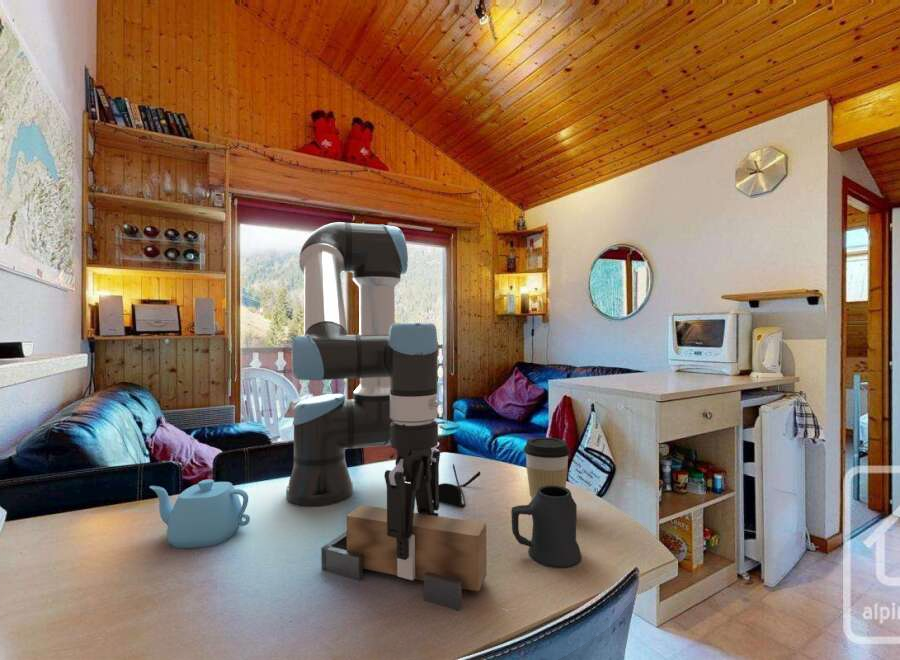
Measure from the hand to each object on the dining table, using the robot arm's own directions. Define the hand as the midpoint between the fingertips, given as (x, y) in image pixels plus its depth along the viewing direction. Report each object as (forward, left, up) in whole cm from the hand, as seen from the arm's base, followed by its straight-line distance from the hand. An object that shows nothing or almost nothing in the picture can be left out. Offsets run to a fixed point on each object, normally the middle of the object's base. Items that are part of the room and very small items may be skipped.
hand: (415, 567), depth 70 cm
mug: (+17, +16, -2) cm, 23 cm away
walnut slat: (0, 0, 0) cm, 0 cm away
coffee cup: (+13, +34, -2) cm, 36 cm away
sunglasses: (-11, +36, -2) cm, 38 cm away
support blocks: (+7, 0, -2) cm, 7 cm away
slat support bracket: (-11, 0, -2) cm, 11 cm away
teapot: (-52, -10, +3) cm, 53 cm away
